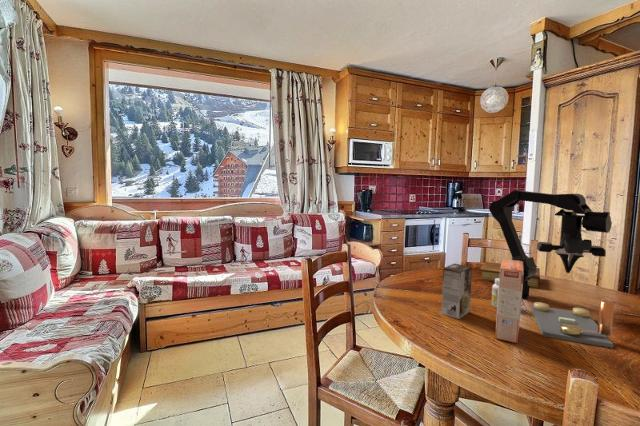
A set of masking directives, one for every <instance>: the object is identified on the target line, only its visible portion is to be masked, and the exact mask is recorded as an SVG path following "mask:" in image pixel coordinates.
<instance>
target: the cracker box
mask: <svg viewBox="0 0 640 426" xmlns="http://www.w3.org/2000/svg"><path fill="white" fill-rule="evenodd" d="M523 274H524V271H523V262H522V261H516V260H512V259H508V258H507V259H502V261H501V268H500V277H499V290H498V305H497V307H496V321H495V338H494V339H496V340H501V341H505V342H509V343H513V344H518V343H519V342H518V340H519V333H520V332H519V331H520V323H521V310H522V301H523V300H522V299H523V298H522V289H523Z"/></svg>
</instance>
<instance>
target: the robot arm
mask: <svg viewBox="0 0 640 426" xmlns="http://www.w3.org/2000/svg"><path fill="white" fill-rule="evenodd" d="M521 201H524V202H530V203H531V202H532V203H538V204H545V205H551V206H554V207H556V208H559V210H558V211H557V212H555V214H554V215H555V216H557V217H559V216H560V217H561V223H560V237H559V238H560V239H559V244H557V245H556V244H553V243H552V242H548V241H547V242H546V241H538V243H536V249H537V250H538V252H542V253H551V252H552V251H555V252H554V253H556V255H558V256H559V257H560V259H561V262H562V264H563V267H564V270H565V273H566V274H570V273H571V271H572V269H573V267H574V266H575V264H576V262H577V261H578V260H579V259H580V258H584V257H585V256H584V253H587V254H588V253H589V254H592V256H593V257H603V258H604V257H606V252H607V251H606V249H605V248H604V247H602V246H600V245H593V244H592V243H593V242H592V240H591V239H583V237H582V228H583V229H585V231H586V232H596V233H604V234H605V233H606V234H608V233H610V232H611V229H612V223H613V222H612V218H611V216H610V215H611V212H609V211H602V212H601V211H593V210H592V209H591V207H590V206H589V205H588V204H587V199H586V197H585V196H584V195H583V194H581V193H556V194H555V193H554V194H553V193H545V192H544V193H543V192H538V191H537V192H535V191H527V190H521V189H514V190H512V191H511V192H509V193H508V194H505V196H502V197H501V198H499V199H497V200H494V201H492V202H491V203H490V205H489V206H488V210H489V212H490V214H491V215H492V217H493V218H494V219H495V220H496V221H497V223H498V224H499V226H500V229H501V232H502V234H503V237H504V240H505V242H506V245H507V247H508V249H509V252H510V256H511V260H516V261H522V262H523V271H524V274H523V289H522V299H526V300H527V299H529V296H530V286H529V284H528V281H527V280H530V278H531V276H534V275H535V273H536V268H538V266H537V265H536V262H535V259H534V257H529V256H528V254H526V253H525V249H524V247H523V245H522V242H521V240H520V237H519V235H518V232H517V230H516V227H515V224H514V223H513V209H512V208H514V207H515V206H516V205H518V203H519V202H521Z"/></svg>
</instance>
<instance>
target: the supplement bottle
mask: <svg viewBox="0 0 640 426" xmlns="http://www.w3.org/2000/svg"><path fill="white" fill-rule="evenodd" d="M491 286H492V289H491V305H492V306H494V307H495V308H497V305H498V290H499V278H496V279H495V282H494V284H492V285H491Z"/></svg>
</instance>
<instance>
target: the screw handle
mask: <svg viewBox="0 0 640 426" xmlns="http://www.w3.org/2000/svg"><path fill="white" fill-rule="evenodd" d="M614 309H615V303H614V302H612V301H610V300H603V299H601V300H600V301H599V311H598V322H597V325H598V331H591V330H582V329H581V328H580V327H577V326H575V325H571V324H561V325H560V331H561V332H563V333H565V334H568V335H572V336H581V335H582V334H584V335H592V336H601V337H606V336H607V337H608V336H612V332H613V324H614Z"/></svg>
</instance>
